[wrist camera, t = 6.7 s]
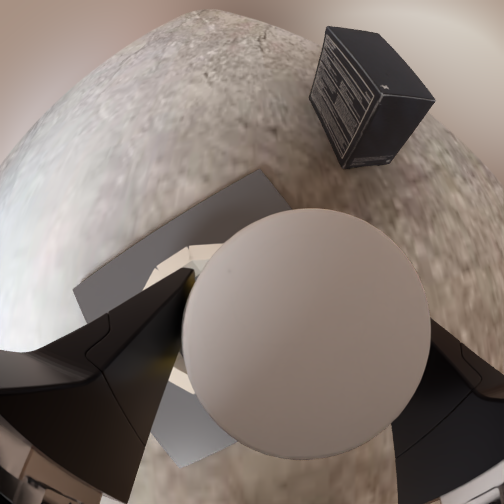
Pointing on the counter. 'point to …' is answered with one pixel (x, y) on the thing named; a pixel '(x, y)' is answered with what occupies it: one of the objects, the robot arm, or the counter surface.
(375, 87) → the small box
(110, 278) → the socket board
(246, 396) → the pill bottle
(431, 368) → the robot arm
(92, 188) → the counter surface
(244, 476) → the counter surface
